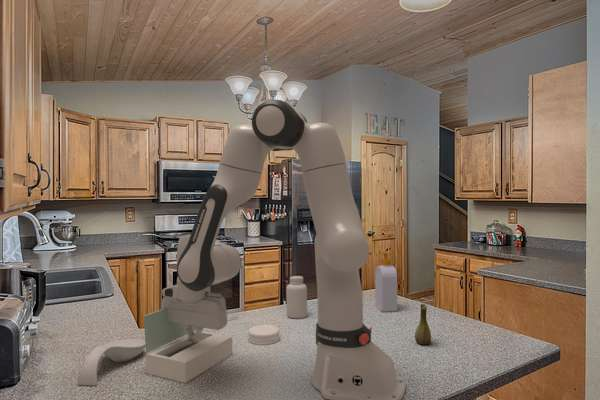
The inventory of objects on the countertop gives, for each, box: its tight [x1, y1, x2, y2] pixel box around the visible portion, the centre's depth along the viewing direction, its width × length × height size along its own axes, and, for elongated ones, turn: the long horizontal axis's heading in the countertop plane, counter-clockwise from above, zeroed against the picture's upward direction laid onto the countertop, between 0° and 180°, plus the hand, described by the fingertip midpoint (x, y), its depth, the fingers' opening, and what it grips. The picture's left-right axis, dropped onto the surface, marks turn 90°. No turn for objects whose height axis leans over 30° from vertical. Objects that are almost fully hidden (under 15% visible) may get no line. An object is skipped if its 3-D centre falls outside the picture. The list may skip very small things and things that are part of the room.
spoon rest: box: [77, 338, 146, 387], centre depth 107 cm, size 24×12×7 cm, turn 177°
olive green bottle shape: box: [414, 303, 432, 345], centre depth 122 cm, size 6×5×12 cm
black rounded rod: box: [166, 342, 198, 357], centre depth 109 cm, size 2×14×2 cm, turn 155°
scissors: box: [204, 316, 239, 333], centre depth 142 cm, size 11×1×20 cm
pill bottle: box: [285, 275, 308, 320], centre depth 151 cm, size 8×8×15 cm
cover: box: [143, 308, 196, 353], centre depth 111 cm, size 10×19×1 cm
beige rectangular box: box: [145, 331, 233, 384], centre depth 108 cm, size 13×20×5 cm, turn 155°
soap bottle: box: [374, 252, 398, 313], centre depth 160 cm, size 9×7×23 cm
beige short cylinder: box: [247, 324, 281, 346], centre depth 126 cm, size 10×10×4 cm
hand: (193, 340), depth 107 cm, fingers closed
